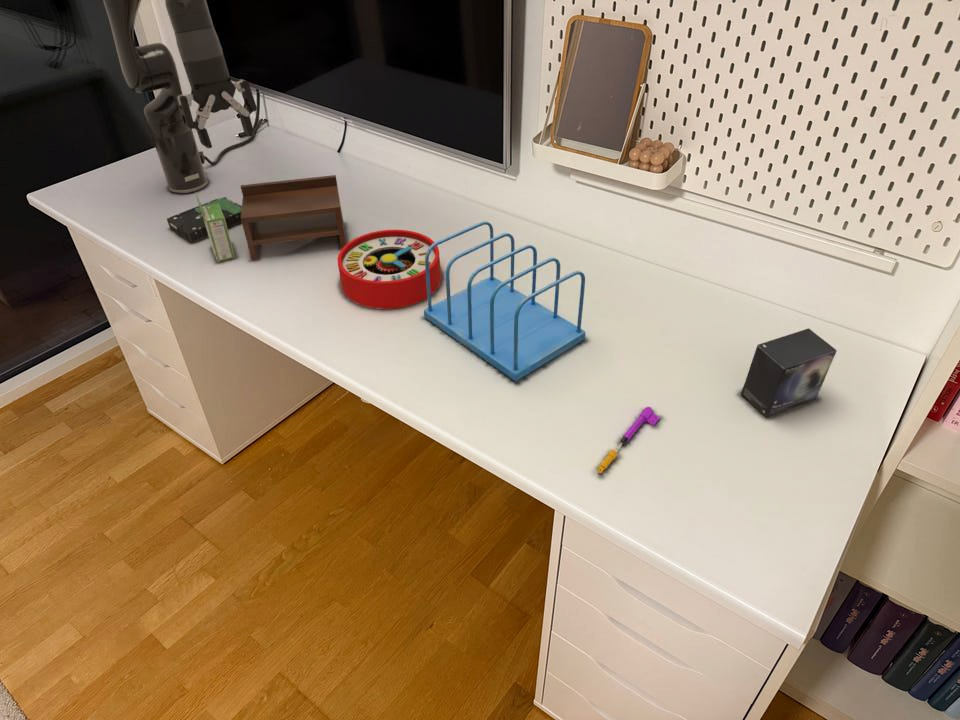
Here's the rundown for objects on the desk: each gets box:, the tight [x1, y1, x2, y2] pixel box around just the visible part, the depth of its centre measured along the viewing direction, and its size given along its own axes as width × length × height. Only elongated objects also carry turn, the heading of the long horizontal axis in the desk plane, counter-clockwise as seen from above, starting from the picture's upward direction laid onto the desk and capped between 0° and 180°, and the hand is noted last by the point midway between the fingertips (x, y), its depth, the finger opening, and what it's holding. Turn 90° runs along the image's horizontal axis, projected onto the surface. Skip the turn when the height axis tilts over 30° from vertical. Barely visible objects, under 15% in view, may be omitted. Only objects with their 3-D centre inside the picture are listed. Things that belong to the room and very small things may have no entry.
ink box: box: [194, 191, 236, 263], centre depth 145 cm, size 7×4×13 cm, turn 26°
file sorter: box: [423, 220, 587, 382], centre depth 122 cm, size 25×17×15 cm
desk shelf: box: [240, 174, 347, 261], centre depth 148 cm, size 11×20×12 cm, turn 102°
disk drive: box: [166, 196, 242, 243], centre depth 158 cm, size 10×3×15 cm
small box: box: [740, 328, 838, 418], centre depth 108 cm, size 11×6×10 cm, turn 114°
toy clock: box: [336, 229, 442, 310], centre depth 138 cm, size 20×6×20 cm
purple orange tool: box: [596, 406, 660, 474], centre depth 104 cm, size 3×1×16 cm
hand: (229, 141), depth 139 cm, fingers open, 8 cm apart
